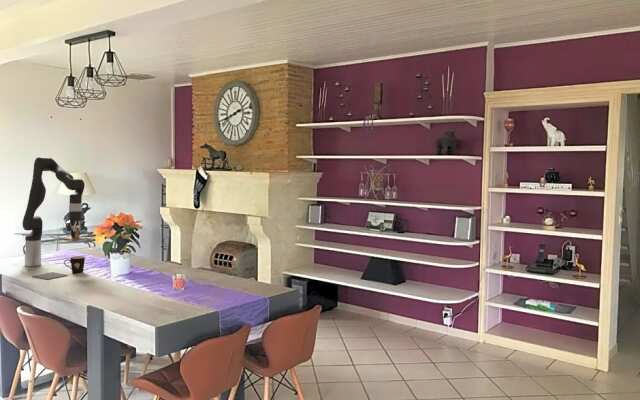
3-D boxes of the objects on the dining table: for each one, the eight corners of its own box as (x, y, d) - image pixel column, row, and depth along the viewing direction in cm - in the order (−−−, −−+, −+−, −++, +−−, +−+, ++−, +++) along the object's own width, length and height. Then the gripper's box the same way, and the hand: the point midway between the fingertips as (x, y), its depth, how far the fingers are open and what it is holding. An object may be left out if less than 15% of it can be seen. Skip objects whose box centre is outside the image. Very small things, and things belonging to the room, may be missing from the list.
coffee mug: (87, 271, 345) (87, 256, 344) (80, 274, 337) (80, 258, 336) (70, 270, 346) (70, 255, 346) (63, 273, 338) (63, 257, 337)
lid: (62, 239, 337) (62, 230, 337) (76, 237, 347) (76, 228, 347) (74, 241, 333) (74, 231, 332) (88, 239, 342) (88, 230, 342)
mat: (32, 277, 325) (32, 276, 325) (52, 273, 338) (52, 272, 338) (47, 279, 319) (47, 278, 319) (67, 275, 332) (67, 274, 332)
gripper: (80, 209, 346) (80, 235, 348) (61, 210, 334) (61, 237, 335) (88, 209, 343) (88, 236, 344) (70, 211, 331) (70, 238, 332)
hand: (75, 236), depth 340 cm, fingers closed on lid, 3 cm apart
